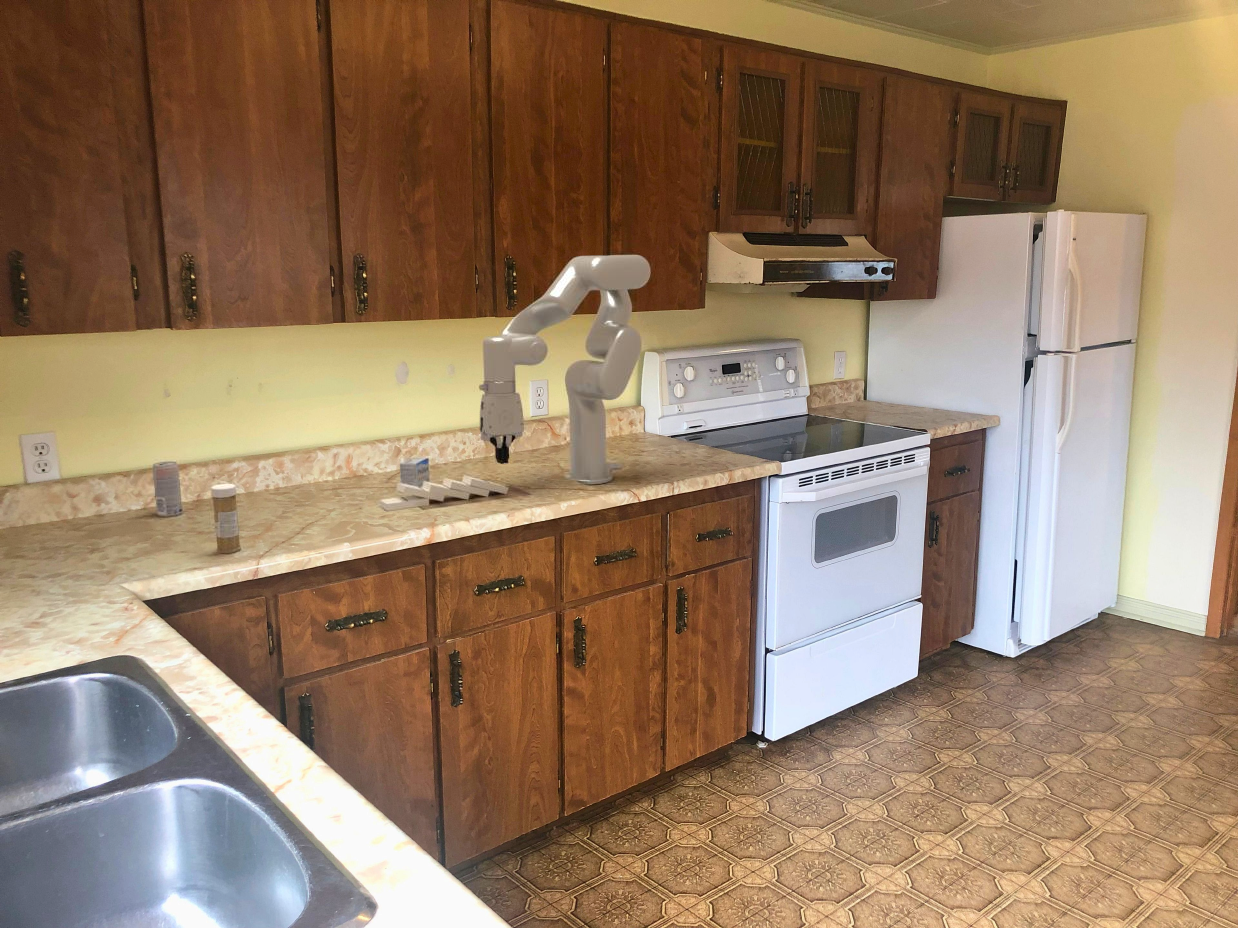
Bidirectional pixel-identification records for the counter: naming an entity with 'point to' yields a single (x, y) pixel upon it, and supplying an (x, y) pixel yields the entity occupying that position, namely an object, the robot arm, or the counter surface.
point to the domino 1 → (403, 502)
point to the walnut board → (474, 498)
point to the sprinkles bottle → (226, 518)
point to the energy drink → (167, 489)
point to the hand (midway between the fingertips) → (502, 462)
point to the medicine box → (415, 471)
